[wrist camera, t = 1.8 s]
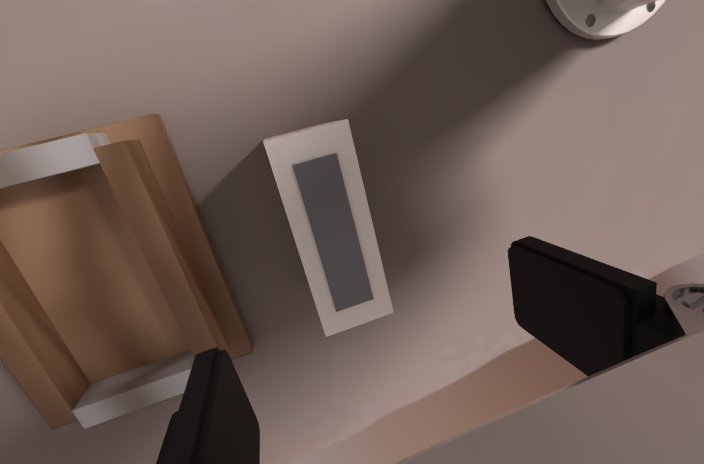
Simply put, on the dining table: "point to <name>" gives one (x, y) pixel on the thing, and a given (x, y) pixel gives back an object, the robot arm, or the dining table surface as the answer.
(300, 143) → the white rectangular box
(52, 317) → the brown shallow tray
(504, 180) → the dining table surface
